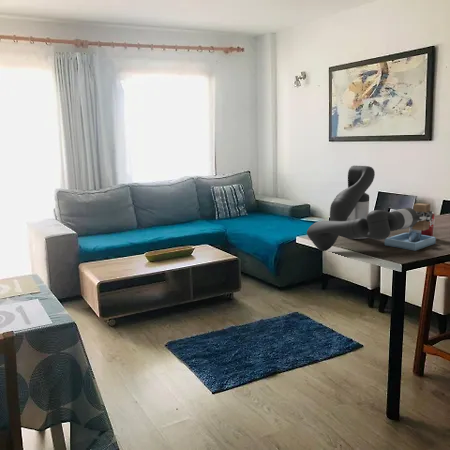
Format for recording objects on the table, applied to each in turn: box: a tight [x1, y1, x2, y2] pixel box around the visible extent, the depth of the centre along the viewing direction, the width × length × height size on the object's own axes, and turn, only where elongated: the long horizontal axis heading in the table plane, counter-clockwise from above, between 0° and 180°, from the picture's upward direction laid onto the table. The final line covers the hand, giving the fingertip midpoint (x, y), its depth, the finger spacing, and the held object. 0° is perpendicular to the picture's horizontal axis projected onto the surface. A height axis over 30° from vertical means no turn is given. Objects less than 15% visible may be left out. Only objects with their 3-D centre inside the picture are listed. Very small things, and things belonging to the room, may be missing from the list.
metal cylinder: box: [408, 226, 421, 243], centre depth 220 cm, size 5×5×10 cm
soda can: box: [421, 211, 436, 237], centre depth 230 cm, size 7×7×12 cm
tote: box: [384, 232, 437, 252], centre depth 219 cm, size 18×14×3 cm
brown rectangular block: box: [413, 202, 431, 231], centre depth 198 cm, size 4×4×10 cm
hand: (425, 213), depth 200 cm, fingers closed on brown rectangular block, 4 cm apart
